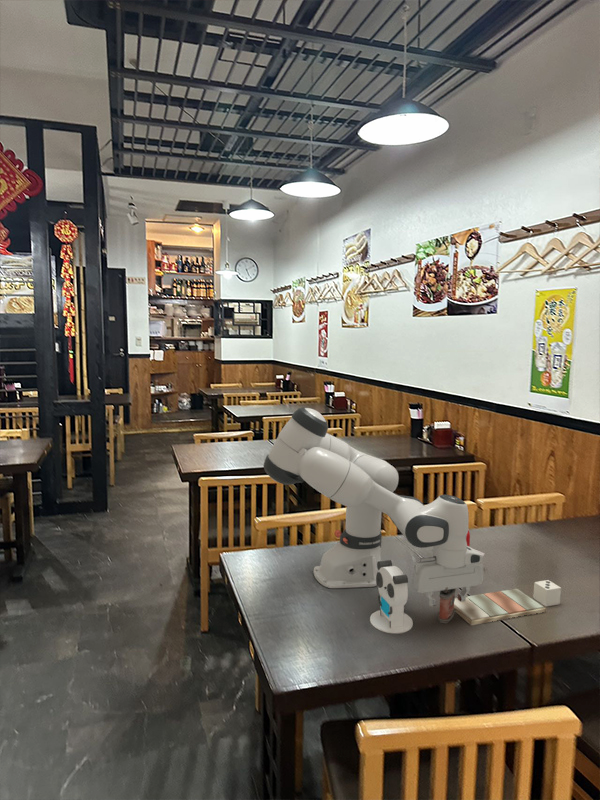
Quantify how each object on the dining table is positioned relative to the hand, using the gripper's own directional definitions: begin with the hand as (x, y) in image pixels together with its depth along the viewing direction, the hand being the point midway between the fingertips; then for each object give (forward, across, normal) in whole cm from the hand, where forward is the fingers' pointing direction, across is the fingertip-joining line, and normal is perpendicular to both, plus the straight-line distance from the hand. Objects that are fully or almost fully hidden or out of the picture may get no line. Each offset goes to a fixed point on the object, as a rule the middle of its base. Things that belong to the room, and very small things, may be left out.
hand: (446, 602), depth 146 cm
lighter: (+4, 0, 0) cm, 4 cm away
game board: (+4, +16, 0) cm, 17 cm away
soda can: (+4, +24, +30) cm, 39 cm away
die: (+4, +33, -1) cm, 34 cm away
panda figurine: (+4, -16, +2) cm, 16 cm away
